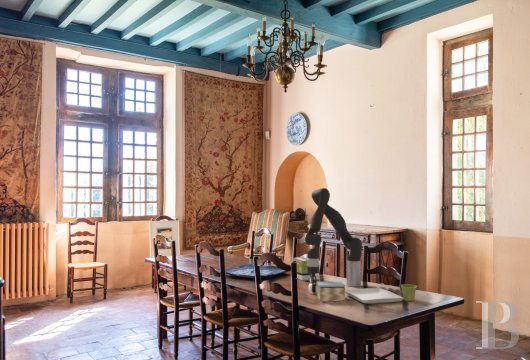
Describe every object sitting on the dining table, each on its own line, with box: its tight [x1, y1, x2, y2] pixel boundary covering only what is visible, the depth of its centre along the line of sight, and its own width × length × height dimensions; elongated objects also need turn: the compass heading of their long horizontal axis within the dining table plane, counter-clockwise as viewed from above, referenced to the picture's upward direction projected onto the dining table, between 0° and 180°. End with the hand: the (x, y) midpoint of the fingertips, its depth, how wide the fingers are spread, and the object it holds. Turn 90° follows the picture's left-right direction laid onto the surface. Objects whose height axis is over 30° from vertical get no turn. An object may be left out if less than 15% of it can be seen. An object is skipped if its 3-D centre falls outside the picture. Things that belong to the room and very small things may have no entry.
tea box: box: [292, 256, 310, 282], centre depth 346 cm, size 15×10×15 cm
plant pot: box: [400, 283, 418, 302], centre depth 279 cm, size 9×9×9 cm
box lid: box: [316, 281, 346, 287], centre depth 282 cm, size 15×13×1 cm
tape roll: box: [308, 283, 317, 295], centre depth 298 cm, size 6×6×6 cm
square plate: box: [345, 287, 404, 305], centre depth 283 cm, size 27×27×4 cm
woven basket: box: [316, 283, 346, 303], centre depth 282 cm, size 15×13×8 cm
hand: (312, 291), depth 298 cm, fingers open, 7 cm apart
